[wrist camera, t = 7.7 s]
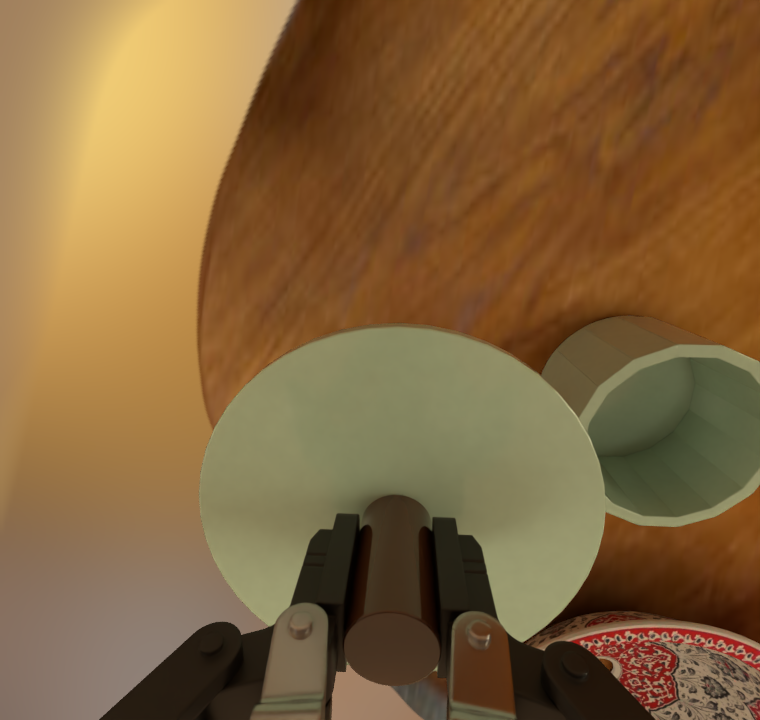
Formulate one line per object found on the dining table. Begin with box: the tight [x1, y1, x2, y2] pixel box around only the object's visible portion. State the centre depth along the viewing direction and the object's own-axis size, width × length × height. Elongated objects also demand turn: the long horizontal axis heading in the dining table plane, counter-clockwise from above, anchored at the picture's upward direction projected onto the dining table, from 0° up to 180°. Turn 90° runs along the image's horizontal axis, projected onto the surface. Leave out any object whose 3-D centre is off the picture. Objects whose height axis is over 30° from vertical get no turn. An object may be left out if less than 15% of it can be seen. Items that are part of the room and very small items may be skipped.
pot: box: [541, 315, 760, 527], centre depth 32 cm, size 13×18×8 cm
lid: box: [199, 323, 606, 686], centre depth 13 cm, size 14×14×6 cm
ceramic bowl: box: [526, 611, 760, 720], centre depth 41 cm, size 29×29×8 cm
